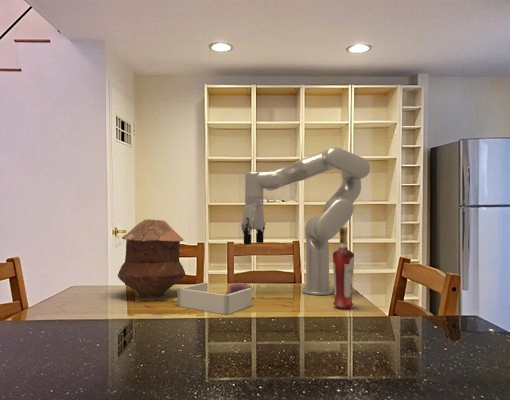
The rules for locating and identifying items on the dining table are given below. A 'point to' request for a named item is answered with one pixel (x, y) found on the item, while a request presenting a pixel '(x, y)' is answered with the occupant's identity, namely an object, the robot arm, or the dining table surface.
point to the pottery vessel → (151, 258)
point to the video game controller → (237, 287)
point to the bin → (213, 299)
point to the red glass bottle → (343, 273)
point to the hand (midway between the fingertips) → (253, 243)
